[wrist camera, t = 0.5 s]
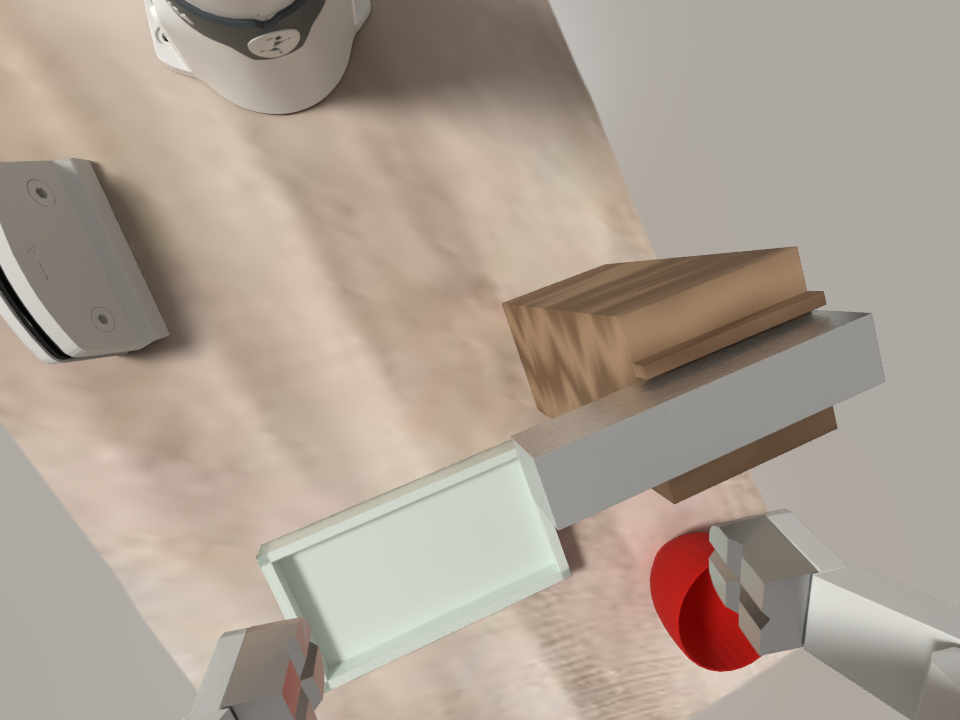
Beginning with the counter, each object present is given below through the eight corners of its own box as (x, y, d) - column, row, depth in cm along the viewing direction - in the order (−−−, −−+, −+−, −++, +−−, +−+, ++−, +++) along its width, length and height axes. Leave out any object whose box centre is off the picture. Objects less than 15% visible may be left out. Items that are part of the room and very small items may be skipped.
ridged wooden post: (501, 303, 55) (628, 318, 29) (605, 264, 57) (813, 244, 31) (537, 409, 58) (686, 512, 31) (636, 368, 59) (854, 433, 33)
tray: (261, 545, 53) (256, 558, 51) (518, 436, 58) (525, 443, 55) (323, 675, 56) (321, 693, 54) (563, 563, 61) (571, 575, 58)
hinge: (172, 338, 49) (81, 366, 40) (129, 353, 50) (30, 384, 40) (87, 155, 46) (-35, 137, 36) (43, 175, 47) (-87, 162, 37)
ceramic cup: (767, 549, 66) (836, 594, 57) (661, 635, 65) (713, 697, 55) (721, 470, 64) (785, 503, 54) (608, 558, 62) (654, 608, 52)
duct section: (510, 436, 30) (533, 458, 26) (811, 310, 33) (871, 313, 29) (533, 499, 30) (558, 530, 27) (824, 370, 33) (885, 381, 30)
